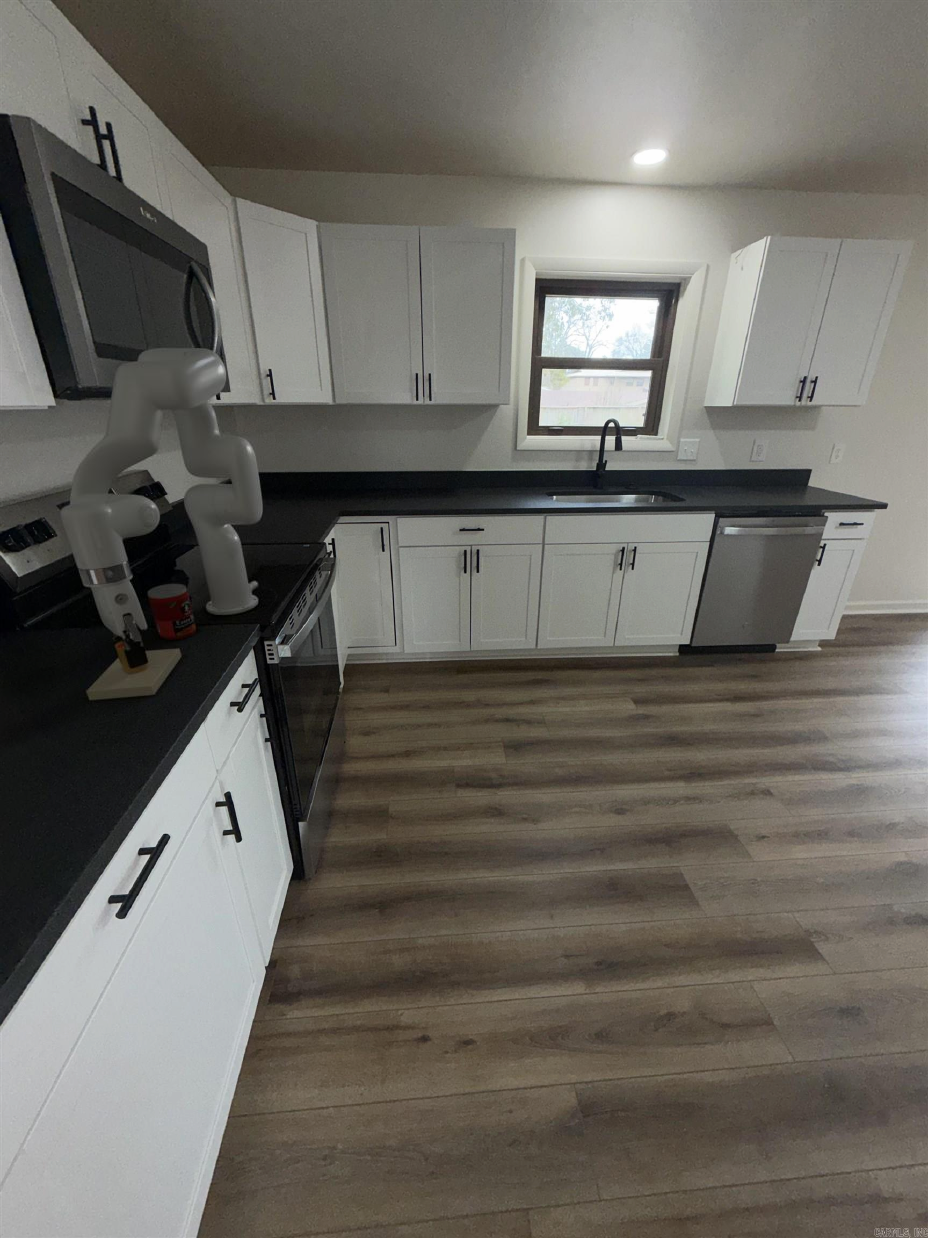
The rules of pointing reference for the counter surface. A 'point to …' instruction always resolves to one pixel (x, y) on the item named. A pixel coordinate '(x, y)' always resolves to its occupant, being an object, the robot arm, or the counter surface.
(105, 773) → the counter surface
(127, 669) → the tap handle
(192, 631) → the canned food
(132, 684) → the plate
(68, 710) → the counter surface
